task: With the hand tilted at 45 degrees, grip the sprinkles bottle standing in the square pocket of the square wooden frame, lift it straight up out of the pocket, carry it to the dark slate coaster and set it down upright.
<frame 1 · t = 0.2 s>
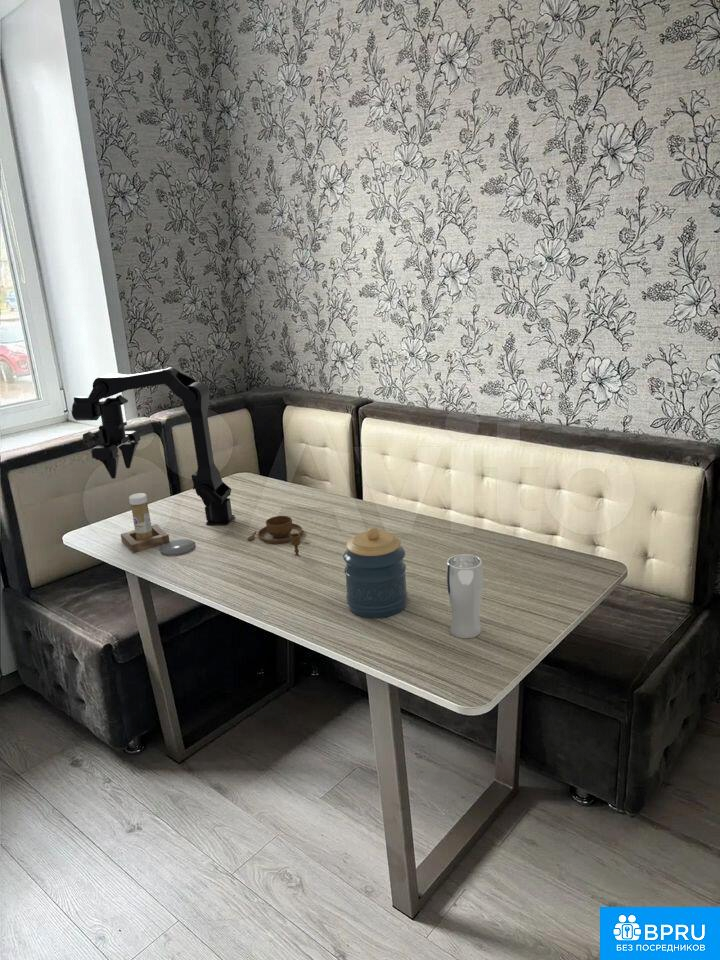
hand: (121, 473, 210), 15 cm above the table, tool pointing down, fingers open, 9 cm apart
canister: (377, 605, 157), on the table
square wooden frame: (145, 541, 199), on the table
beer glass: (465, 631, 145), on the table
place setting: (278, 544, 193), on the table
coaster: (178, 548, 193), on the table
sprinkles bottle: (145, 542, 199), resting in square wooden frame
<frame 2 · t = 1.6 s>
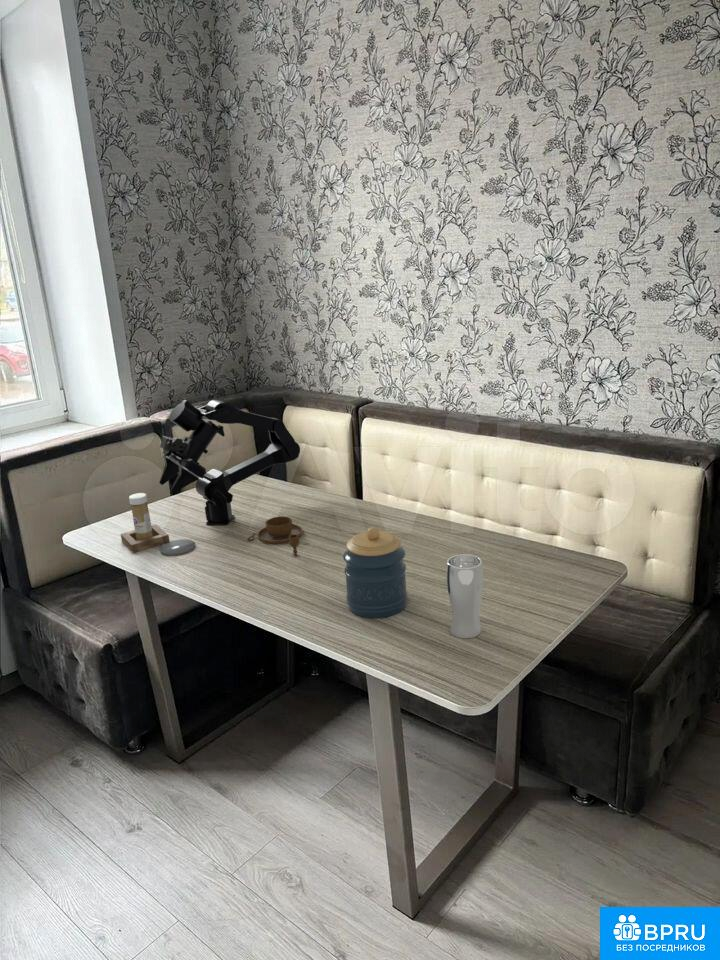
hand: (166, 488, 199), 13 cm above the table, tool tilted 45°, fingers open, 9 cm apart
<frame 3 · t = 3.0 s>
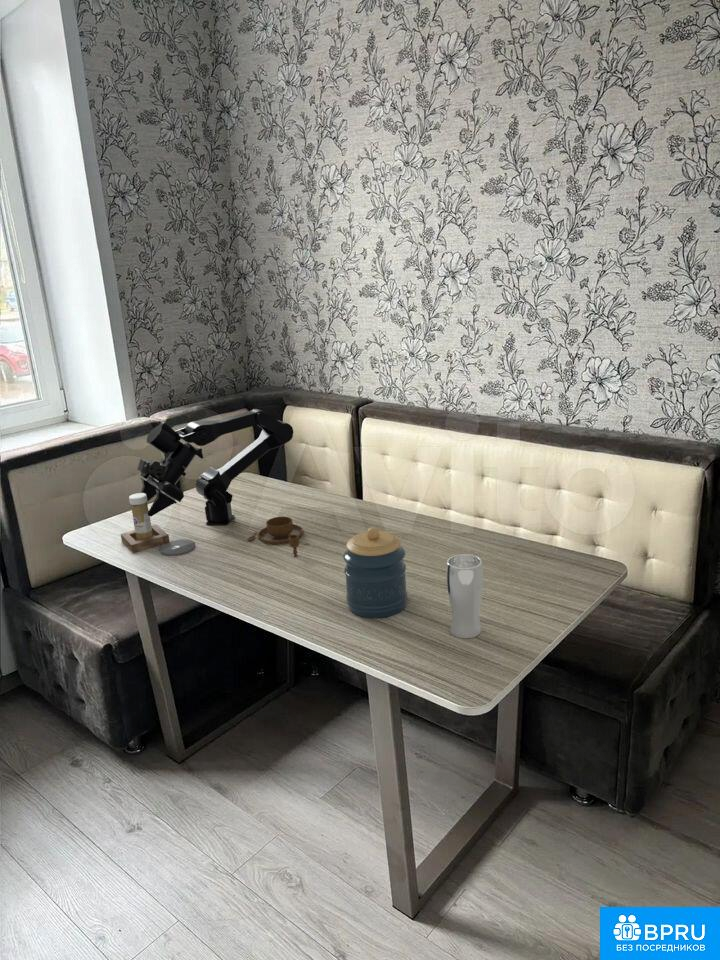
hand: (143, 511, 196), 9 cm above the table, tool tilted 45°, fingers open, 9 cm apart
nothing on the table moved.
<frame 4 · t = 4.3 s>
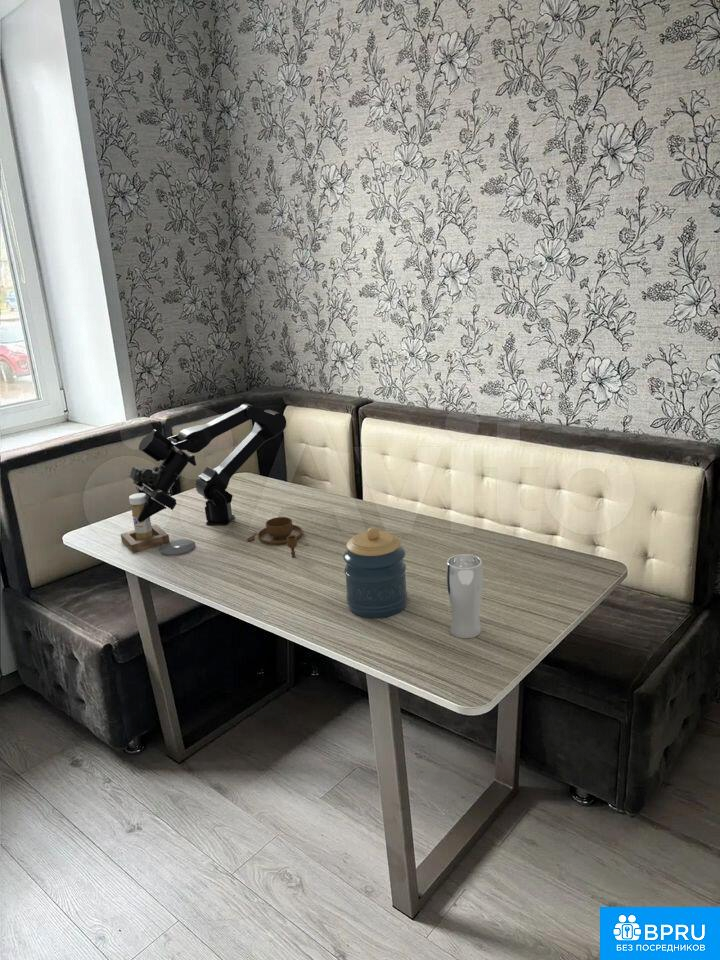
hand: (136, 518, 196), 7 cm above the table, tool tilted 45°, fingers closed on sprinkles bottle, 4 cm apart
sprinkles bottle: (145, 542, 199), resting in square wooden frame, touching gripper
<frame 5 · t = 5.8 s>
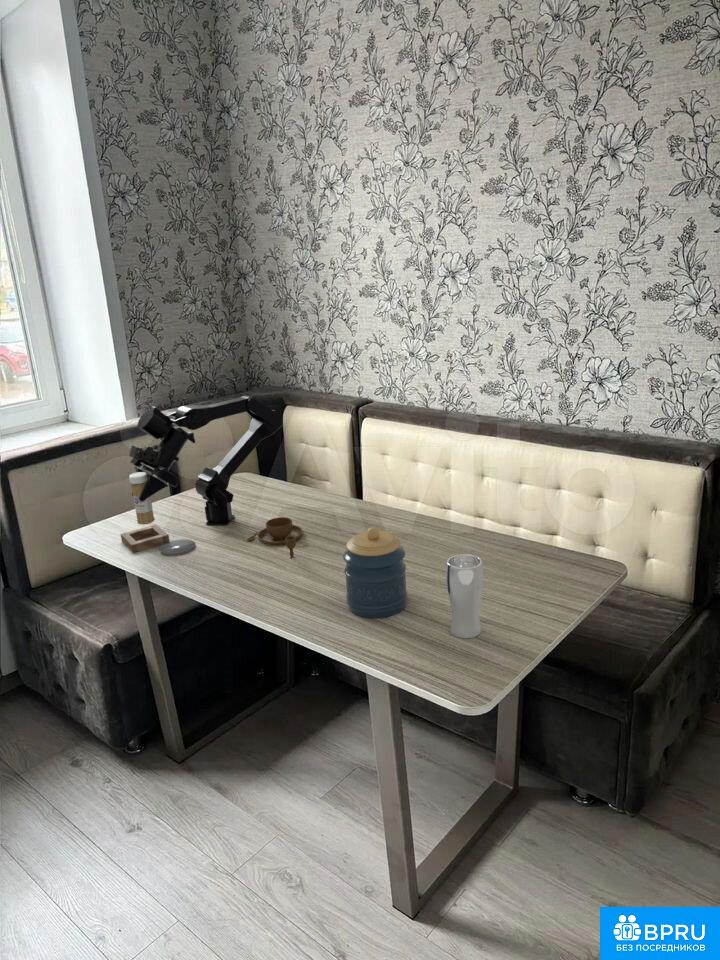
hand: (136, 498, 193), 13 cm above the table, tool tilted 45°, fingers closed on sprinkles bottle, 4 cm apart
sprinkles bottle: (146, 522, 196), point 6 cm above the table, touching gripper
when the fingers open (9 cm above the table, at t = 7.9 s): sprinkles bottle stays where it is, resting on coaster.
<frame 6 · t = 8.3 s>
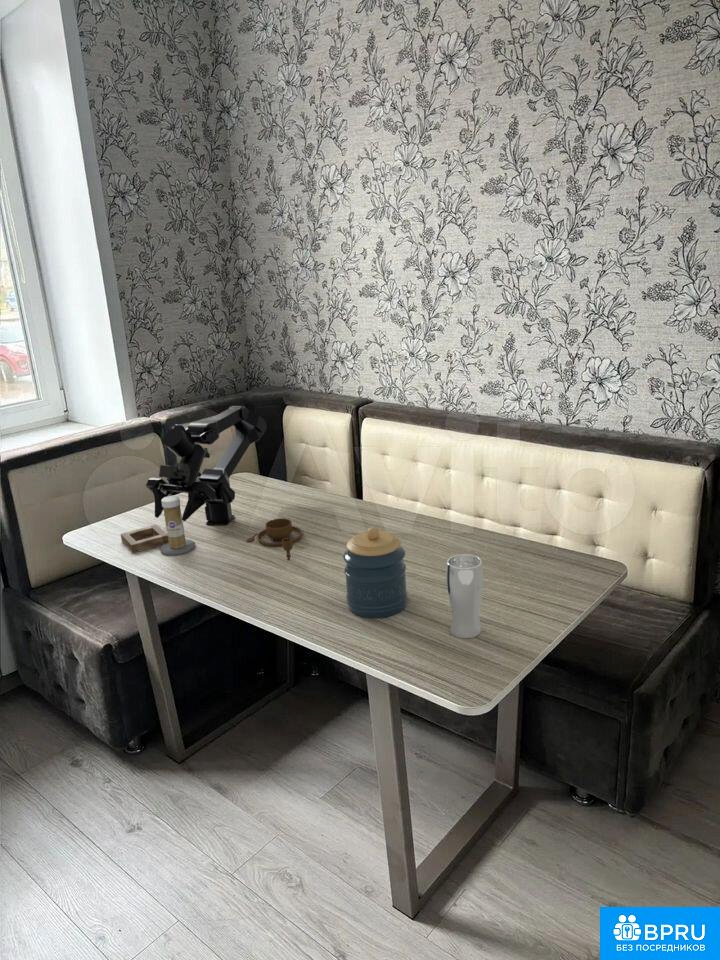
hand: (169, 518, 189), 9 cm above the table, tool tilted 45°, fingers open, 8 cm apart
sprinkles bottle: (178, 546, 193), resting on coaster
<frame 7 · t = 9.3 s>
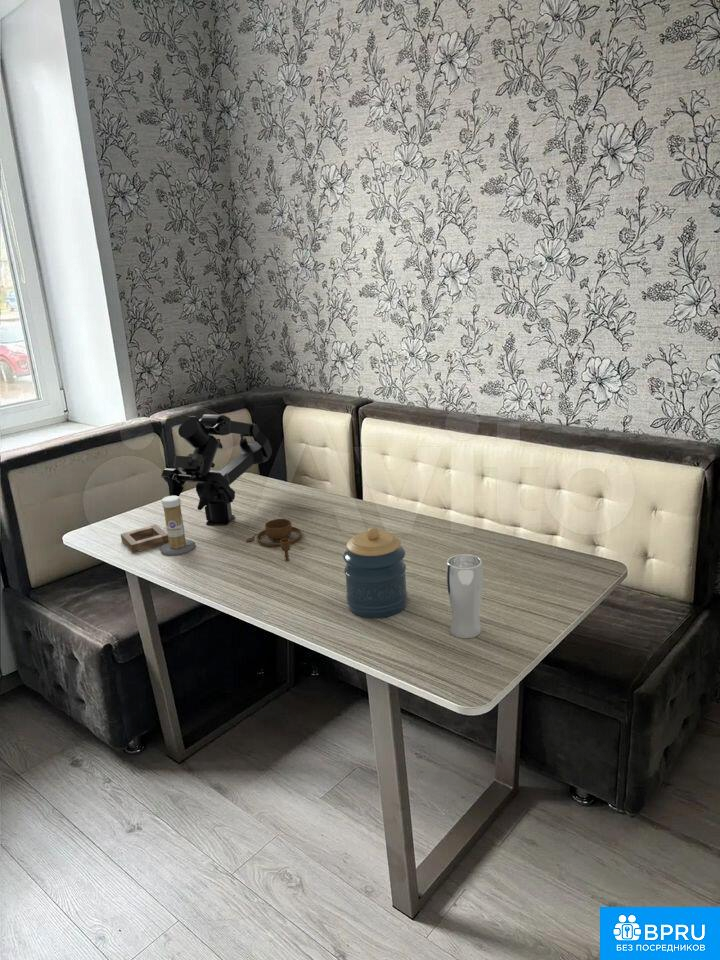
hand: (184, 508, 195), 9 cm above the table, tool tilted 45°, fingers open, 9 cm apart
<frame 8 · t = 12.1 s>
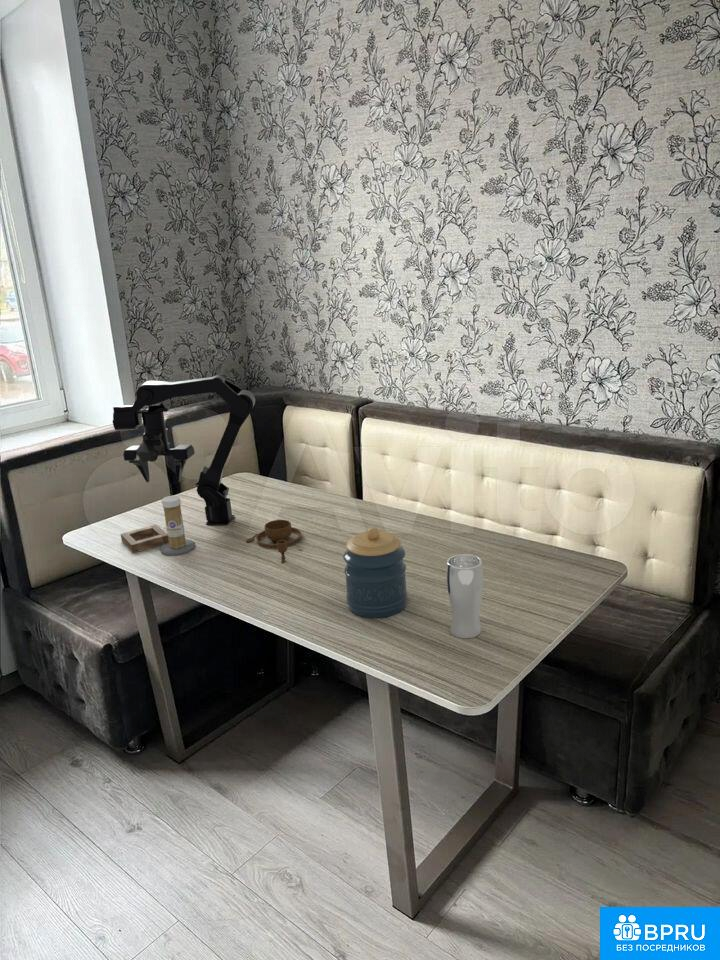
hand: (163, 481, 205), 13 cm above the table, tool pointing down, fingers open, 9 cm apart
at the end: sprinkles bottle inside the target area on the coaster (0.2 cm from its centre), point 0.4 cm above the coaster's base; sprinkles bottle tilted 0°; sprinkles bottle touching coaster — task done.
